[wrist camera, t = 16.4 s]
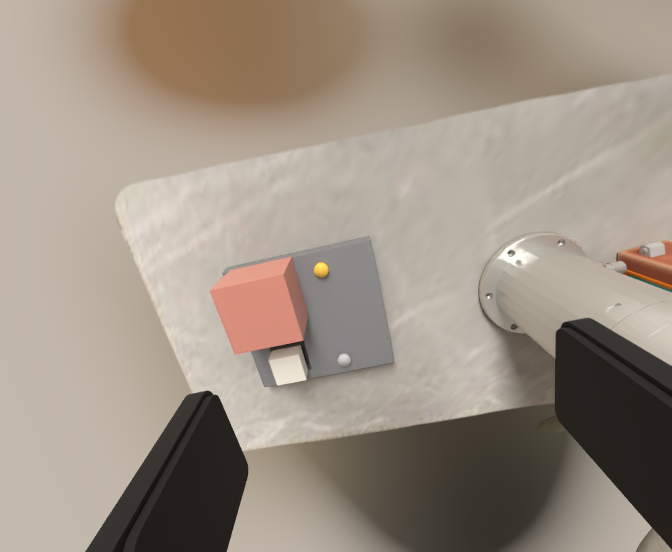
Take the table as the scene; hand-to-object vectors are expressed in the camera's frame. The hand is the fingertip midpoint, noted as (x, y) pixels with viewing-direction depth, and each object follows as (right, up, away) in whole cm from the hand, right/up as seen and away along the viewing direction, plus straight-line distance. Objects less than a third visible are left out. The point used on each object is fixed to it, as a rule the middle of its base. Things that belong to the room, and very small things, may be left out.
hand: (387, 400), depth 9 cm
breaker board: (-4, -1, +30) cm, 31 cm away
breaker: (-7, -7, +30) cm, 31 cm away
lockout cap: (-9, +2, +27) cm, 29 cm away
